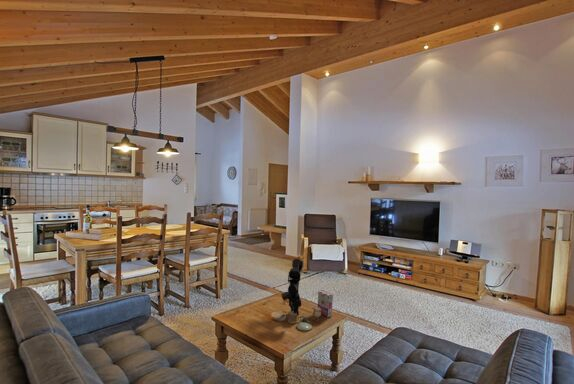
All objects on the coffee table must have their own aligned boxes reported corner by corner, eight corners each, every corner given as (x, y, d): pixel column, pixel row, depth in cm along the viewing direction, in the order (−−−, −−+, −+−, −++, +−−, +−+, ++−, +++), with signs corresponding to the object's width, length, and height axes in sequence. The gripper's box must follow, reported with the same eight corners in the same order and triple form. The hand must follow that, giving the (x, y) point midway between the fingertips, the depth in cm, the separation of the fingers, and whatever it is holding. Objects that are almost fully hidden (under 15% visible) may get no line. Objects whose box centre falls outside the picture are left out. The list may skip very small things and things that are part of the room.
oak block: (313, 312, 215) (313, 307, 215) (318, 312, 216) (318, 306, 216) (315, 315, 211) (315, 309, 211) (320, 314, 212) (320, 309, 212)
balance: (289, 324, 206) (289, 317, 205) (287, 320, 211) (287, 314, 211) (321, 321, 212) (322, 315, 211) (319, 318, 217) (319, 311, 217)
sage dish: (297, 323, 208) (297, 321, 208) (311, 324, 207) (311, 323, 207) (296, 330, 198) (296, 329, 198) (311, 331, 197) (311, 330, 197)
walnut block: (288, 318, 211) (288, 311, 211) (294, 318, 212) (295, 311, 212) (289, 322, 206) (290, 314, 206) (296, 321, 207) (297, 314, 207)
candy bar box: (332, 316, 221) (333, 294, 220) (327, 318, 218) (328, 295, 217) (321, 310, 230) (322, 289, 229) (316, 312, 227) (317, 290, 226)
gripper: (279, 284, 215) (278, 305, 216) (285, 294, 197) (284, 317, 198) (294, 283, 218) (293, 304, 219) (301, 293, 200) (300, 316, 201)
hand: (292, 310), depth 209 cm, fingers open, 9 cm apart
